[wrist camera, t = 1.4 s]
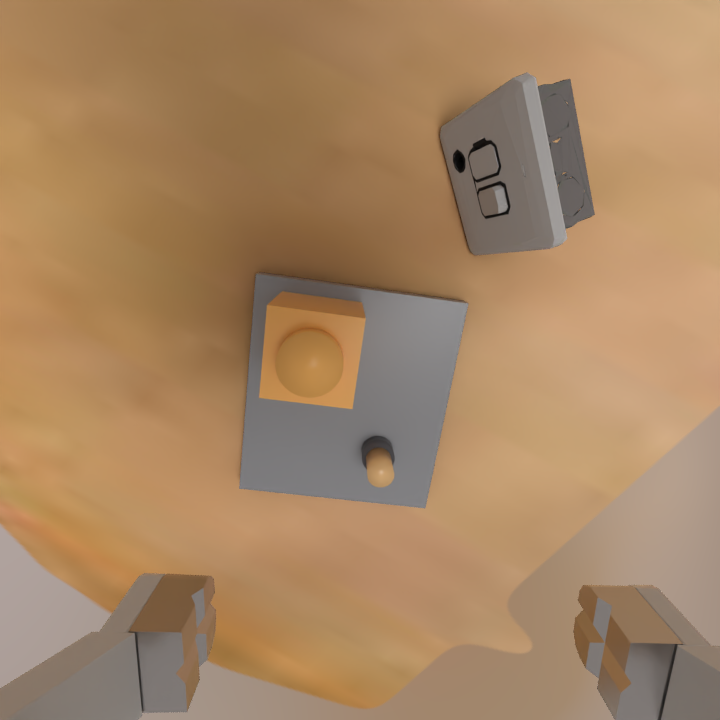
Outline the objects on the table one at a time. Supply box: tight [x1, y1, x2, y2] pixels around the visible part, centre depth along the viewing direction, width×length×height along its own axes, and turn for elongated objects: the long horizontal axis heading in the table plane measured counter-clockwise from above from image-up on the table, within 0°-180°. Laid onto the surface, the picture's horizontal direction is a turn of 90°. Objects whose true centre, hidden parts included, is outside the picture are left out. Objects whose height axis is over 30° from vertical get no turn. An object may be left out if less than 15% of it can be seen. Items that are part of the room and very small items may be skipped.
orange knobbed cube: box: [259, 291, 366, 409], centre depth 30 cm, size 6×6×8 cm
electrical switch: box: [440, 73, 595, 255], centre depth 28 cm, size 9×5×9 cm, turn 19°
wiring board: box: [239, 272, 468, 508], centre depth 34 cm, size 18×16×6 cm
